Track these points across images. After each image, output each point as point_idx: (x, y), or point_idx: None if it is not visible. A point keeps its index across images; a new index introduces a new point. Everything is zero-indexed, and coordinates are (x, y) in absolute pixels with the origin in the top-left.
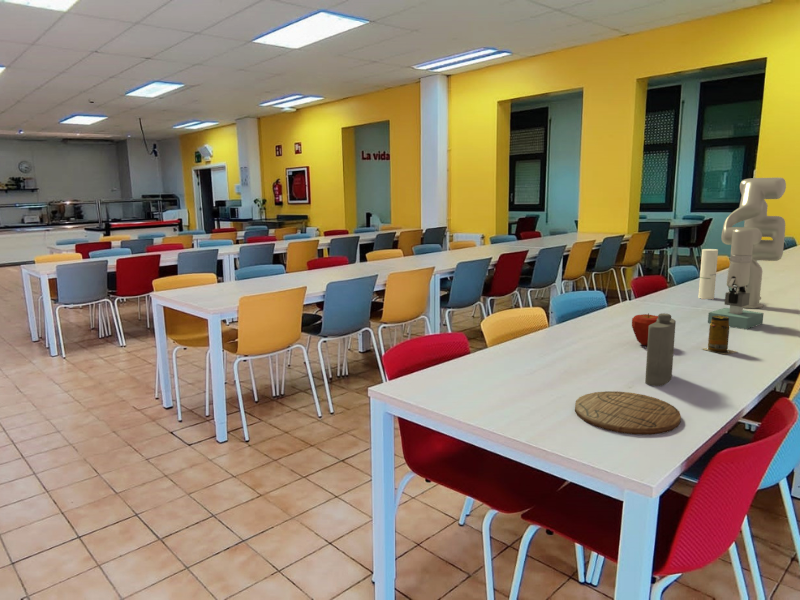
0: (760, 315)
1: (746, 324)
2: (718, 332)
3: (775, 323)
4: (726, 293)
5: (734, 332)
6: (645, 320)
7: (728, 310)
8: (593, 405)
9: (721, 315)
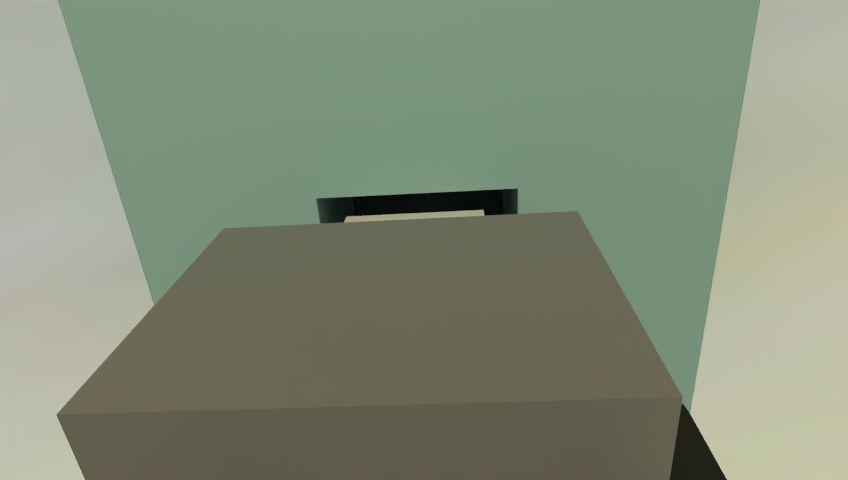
0: None
1: None
2: None
3: (734, 446)
4: (83, 423)
5: (52, 386)
6: None
7: (512, 128)
8: None
9: (132, 210)
